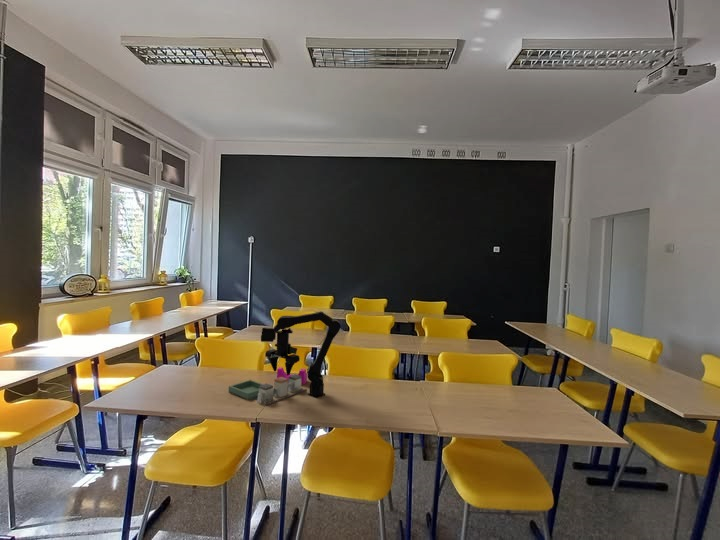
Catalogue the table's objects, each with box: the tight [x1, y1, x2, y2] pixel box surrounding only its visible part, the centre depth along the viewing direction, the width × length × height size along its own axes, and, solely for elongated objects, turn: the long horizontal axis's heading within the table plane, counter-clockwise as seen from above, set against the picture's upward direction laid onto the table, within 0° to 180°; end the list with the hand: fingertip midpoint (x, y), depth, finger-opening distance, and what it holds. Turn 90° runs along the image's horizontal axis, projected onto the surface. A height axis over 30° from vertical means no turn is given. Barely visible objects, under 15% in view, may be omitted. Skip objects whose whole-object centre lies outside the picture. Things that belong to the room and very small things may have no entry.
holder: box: [251, 373, 308, 407], centre depth 178 cm, size 11×26×7 cm, turn 145°
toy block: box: [276, 366, 308, 385], centre depth 197 cm, size 15×6×8 cm, turn 83°
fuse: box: [273, 377, 288, 398], centre depth 178 cm, size 5×5×8 cm
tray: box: [228, 379, 264, 401], centre depth 179 cm, size 15×13×3 cm
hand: (281, 373), depth 178 cm, fingers open, 9 cm apart
